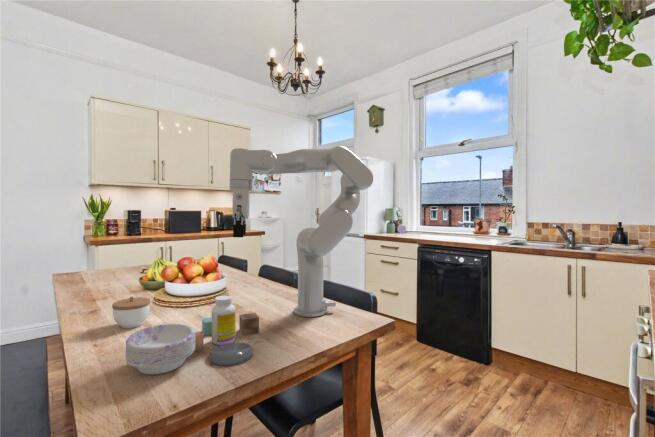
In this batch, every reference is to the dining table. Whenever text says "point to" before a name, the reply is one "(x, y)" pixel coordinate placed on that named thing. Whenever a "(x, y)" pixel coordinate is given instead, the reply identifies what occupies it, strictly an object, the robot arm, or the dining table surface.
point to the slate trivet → (231, 354)
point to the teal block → (207, 326)
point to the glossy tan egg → (198, 341)
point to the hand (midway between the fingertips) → (239, 236)
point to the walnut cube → (248, 324)
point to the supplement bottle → (223, 321)
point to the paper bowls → (160, 347)
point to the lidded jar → (131, 311)
